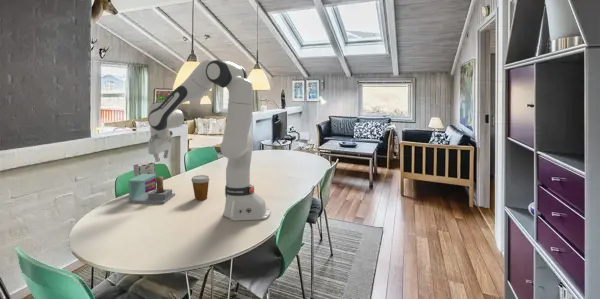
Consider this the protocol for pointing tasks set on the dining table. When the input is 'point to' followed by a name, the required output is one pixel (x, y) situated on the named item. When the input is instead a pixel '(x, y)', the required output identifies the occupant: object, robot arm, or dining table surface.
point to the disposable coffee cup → (200, 186)
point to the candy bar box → (146, 169)
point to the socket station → (140, 196)
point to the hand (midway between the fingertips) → (161, 159)
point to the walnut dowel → (159, 184)
